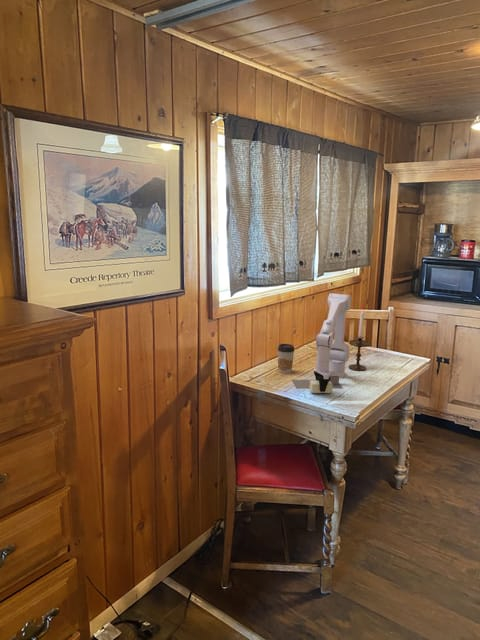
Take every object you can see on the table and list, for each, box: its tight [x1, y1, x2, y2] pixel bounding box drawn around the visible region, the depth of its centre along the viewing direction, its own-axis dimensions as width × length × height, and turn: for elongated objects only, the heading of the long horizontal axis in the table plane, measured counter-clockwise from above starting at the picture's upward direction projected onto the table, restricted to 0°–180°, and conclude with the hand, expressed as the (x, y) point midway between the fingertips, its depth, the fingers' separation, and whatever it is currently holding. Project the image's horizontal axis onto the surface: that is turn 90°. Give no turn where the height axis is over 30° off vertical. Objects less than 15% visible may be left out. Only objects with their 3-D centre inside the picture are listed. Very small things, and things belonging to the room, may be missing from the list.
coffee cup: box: [277, 343, 295, 375], centre depth 244 cm, size 8×8×15 cm
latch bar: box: [329, 371, 345, 377], centre depth 228 cm, size 2×7×2 cm, turn 95°
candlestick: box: [348, 304, 371, 372], centre depth 255 cm, size 11×11×35 cm
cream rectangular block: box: [308, 379, 333, 394], centre depth 217 cm, size 5×9×4 cm, turn 95°
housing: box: [291, 376, 344, 390], centre depth 228 cm, size 12×22×6 cm, turn 95°
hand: (320, 389), depth 217 cm, fingers closed on cream rectangular block, 5 cm apart
